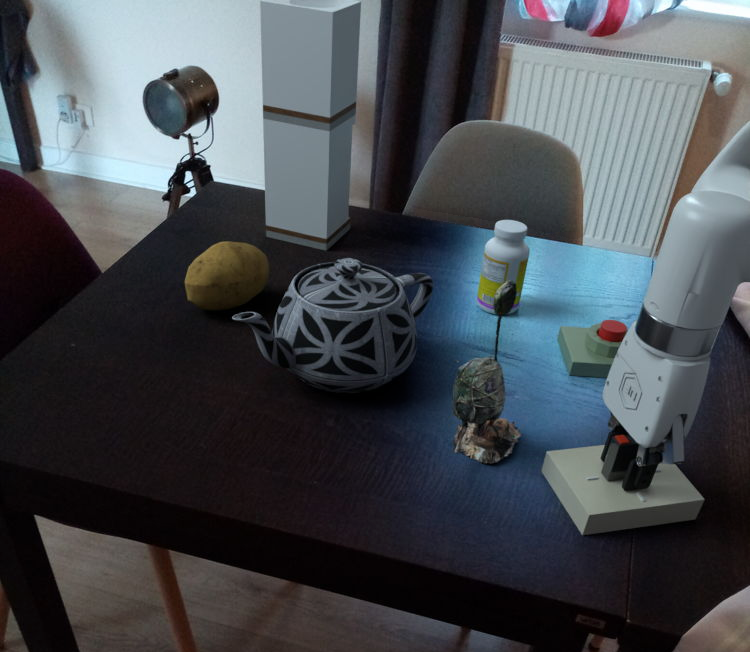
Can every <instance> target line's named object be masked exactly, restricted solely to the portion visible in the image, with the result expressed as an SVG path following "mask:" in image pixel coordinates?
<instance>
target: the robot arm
mask: <svg viewBox="0 0 750 652" xmlns="http://www.w3.org/2000/svg"><path fill="white" fill-rule="evenodd" d="M664 233H665V234H664V237H663V240H662V242H661V246H660V248H659V251H658V255H657V258H656V261H655V264H654V267H653V270H652V274H651V277H650V280H649V283H648V286H647V289H646V291H645V294H644V299H643V301H642V303H641V304H642V305H641V307H640V311H639V314H638V318H637V320H635V321H633V322H632V324H631V325H630V327H629V328H628V329H627V330H628V332H627V334H626V335H625V337H624V339H623V341H622V343H621V345H620V347H619V349H618V352H617V354H616V356H615V359H614V361H613V364H612V366H611V369H610V372H609V374H608V377H607V378H606V381H605V383H604V387H603V391H602V401H603V403H604V404H605V406H606V407H607V409H608V410H609V412H610V417H609V420H608V422H607V428H608V430H609V432H608V434H607V437H606V440H605V443H604V445H605V446H604V449H603V452H602V455H601V460H602V462H605V459H606V456H607V453H608V450H609V447H610V444H611V441H612V438H613V437H615V436H617V435H624V436H625V435H631V437H632V438H633V439H634V440H635V441H636V442H637V443H638V444H639V447H638V452H637V457H636V459H633V460H631V462H630V464H629V467H628V470H627V472H626V475H625V478H624V481H623V483H622V488H623V489H624V491H631V490H638V489H646V488H648V487H649V486H650V484H651V482H652V479H653V477H654V474H655V472H656V469H657V467H658V464H668V465H673V464H675V465H680V464H684V462H685V443H684V442H685V440H686V438H687V436H688V434H689V433H690V430H691V428H692V426H693V423H694V421H695V418H696V416H697V413H698V410H699V406H700V404H701V401H702V399H703V398H702V397H703V395H704V391H705V387H706V384H707V379H708V375H709V371H710V366H711V360H712V359H711V357H710V355H711V354H712V351H713V350H714V346H715V344H716V341H717V339H718V336H719V334H720V331H721V329H722V327H723V324H724V322H725V319H726V318H727V314H728V311H729V310H730V307H731V304H732V302H733V299H734V297H735V294H736V291H737V289H738V287H739V286H740V285H741V284H743V283H750V120H749V121H748V122H746V123H745V124H744V125H743V126H742V127H741V128H740V129H739V130H738V131H737V132H736V133H735V135H734V136H733V137H732V138H731V139H730V140H729V141H728V142H727V144H726V145H724V147H723V148H722V149H721V150H720V152H719V153H718V154H717V155H716V156H715V158H714V159H713V160H712V161H711V163H710V164H708V166H707V167H706V169H705V170H704V171H703V173H702V174H701V175H700V177H699V178H698V179H697V181H696V183H695V184H694V185H693V187H692V190H691V191H690V193H686V194H685V195H683V196H682V197H681V198H680V199H679V200H678V201H677V202H676V204H675V206H674V207H673V210H672V213H671V215H670V218H669V221H668V224H667V227H666V230H665V232H664ZM656 446H657V447H656ZM650 447H656V451H655V452H652V453H649V449H650Z"/></svg>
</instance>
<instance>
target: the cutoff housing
mask: <svg viewBox="0 0 750 652" xmlns="http://www.w3.org/2000/svg"><path fill="white" fill-rule="evenodd" d="M601 323H602V322H599V323H596V324H591V325H590V327H585V326H584V327H583V326H568V325H560V326H559V330H558V335H557V338H556V339H557V342H558V345H559V348H560V352H561V354H562V358H563V360H564V364H565V367H566V370H567V372H568V373H567V374H568V375H569V376H573V377H588V378H603V379H604V378H605V379H607V377H608V374H609V372H610V369H611V366H612V364H613V361H614V359H615V356H616V354H617V352H618V349H619V347H620V345H621V343H622V342H619V343H618V342H609V341H606V340H603V339H602V338H600V337H599V336H598V333H599V329H600V326H601ZM628 330H629V329H627V331H626V334H627V332H628ZM626 334H625V335H626Z"/></svg>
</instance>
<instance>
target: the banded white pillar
mask: <svg viewBox="0 0 750 652" xmlns="http://www.w3.org/2000/svg"><path fill="white" fill-rule="evenodd" d="M259 9H260V11H259V12H260V45H261V50H260V51H261V86H262V87H261V88H262V91H261V92H262V125H263V126H262V128H263V129H262V131H263V167H264V168H263V170H264V206H265V207H264V208H265V211H264V212H265V237H267V238H270V239H274V240H279V241H283V242H286V243H287V242H288V243H292V244H296V245H299V246H304V247H309V248H312V249H318V250H321V251H325V252H327V251H328V250H329V249H330V248H331V247H332V246H333V245H334V244H335V243H337V242H338V241H339V240H340V239H341V238H342V237H343V236H344V235H345V234H346V233H348V231H350V230H351V223H352V222H351V219H352V218H351V217H350V216H349V212H350V189H351V171H352V170H351V167H352V150H353V149H352V147H353V146H352V144H353V126H354V125H355V124H356V118H357V117H356V115H357V96H358V94H357V93H358V78H359V77H358V76H359V75H358V74H359V56H360V35H361V33H360V32H361V14H362V13H361V11H362V1H361V0H289V3H285V2H280V1H279V2H278V1H272V0H259Z"/></svg>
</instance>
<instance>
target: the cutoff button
mask: <svg viewBox="0 0 750 652" xmlns="http://www.w3.org/2000/svg"><path fill="white" fill-rule="evenodd" d="M600 323H601V326H600V329H599V333H598V336H599V337H600V338H602V339H603V340H606V341H609V342H618V343H619V342H622V341H623V339H624V337H625V334H626V331H627V330H628V326H627V325H626V324H625V323H624V322H621V321H619V320H616V319H604V320H602V321H601V322H600Z"/></svg>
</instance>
